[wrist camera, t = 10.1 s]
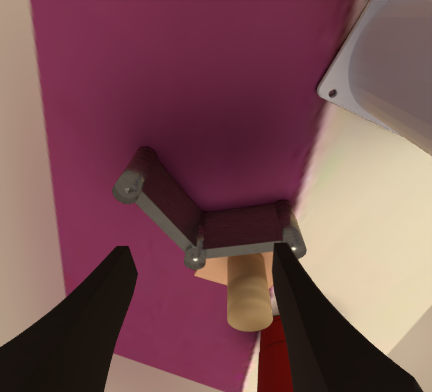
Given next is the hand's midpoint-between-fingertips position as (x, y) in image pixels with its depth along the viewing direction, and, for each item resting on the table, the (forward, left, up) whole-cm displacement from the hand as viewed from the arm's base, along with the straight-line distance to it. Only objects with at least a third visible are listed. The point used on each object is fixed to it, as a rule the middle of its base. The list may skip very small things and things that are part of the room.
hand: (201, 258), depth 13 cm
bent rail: (-1, +3, -9) cm, 10 cm away
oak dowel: (-7, +8, -9) cm, 14 cm away
